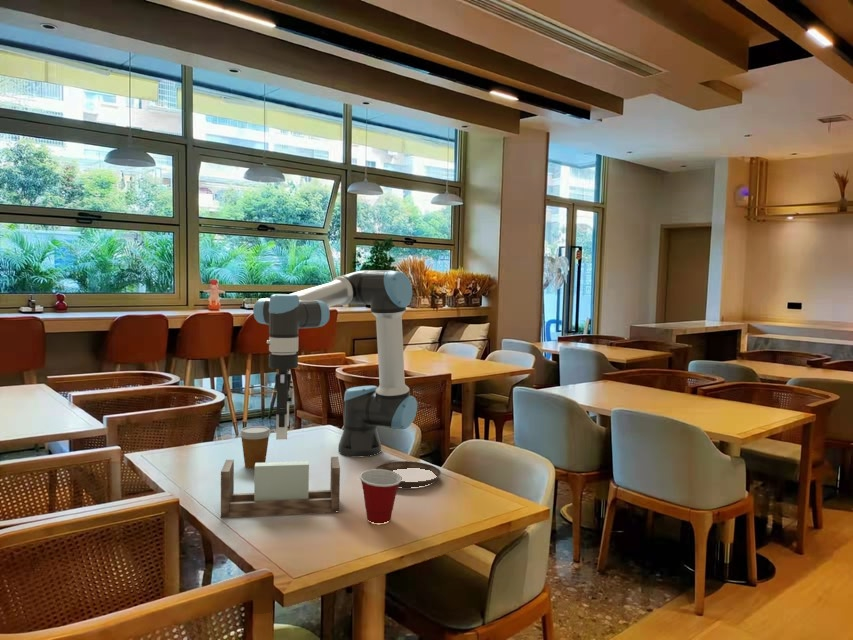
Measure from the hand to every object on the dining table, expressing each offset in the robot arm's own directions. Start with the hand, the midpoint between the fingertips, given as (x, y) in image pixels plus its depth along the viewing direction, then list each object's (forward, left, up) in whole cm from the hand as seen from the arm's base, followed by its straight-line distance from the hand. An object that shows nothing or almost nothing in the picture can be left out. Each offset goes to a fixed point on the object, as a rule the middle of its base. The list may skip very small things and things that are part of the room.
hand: (282, 432), depth 162 cm
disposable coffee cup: (+10, -37, -21) cm, 44 cm away
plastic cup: (-25, +12, -21) cm, 35 cm away
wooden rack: (0, 0, -20) cm, 21 cm away
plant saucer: (-37, -18, -21) cm, 46 cm away
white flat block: (0, 0, -20) cm, 20 cm away
